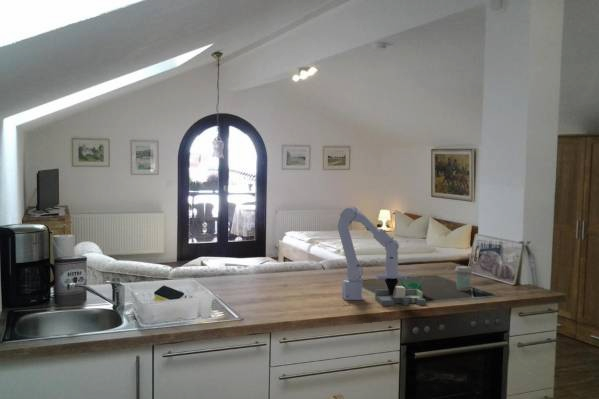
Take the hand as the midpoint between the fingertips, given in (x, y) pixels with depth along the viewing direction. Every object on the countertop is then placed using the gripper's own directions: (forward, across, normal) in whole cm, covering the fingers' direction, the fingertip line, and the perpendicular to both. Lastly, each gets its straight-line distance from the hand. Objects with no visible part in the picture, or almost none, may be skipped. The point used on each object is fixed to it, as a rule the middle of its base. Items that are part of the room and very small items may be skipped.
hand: (390, 294), depth 265 cm
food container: (+4, +15, +11) cm, 19 cm away
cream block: (+1, +4, 0) cm, 4 cm away
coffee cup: (+4, +46, +22) cm, 51 cm away
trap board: (+3, +4, -2) cm, 6 cm away
